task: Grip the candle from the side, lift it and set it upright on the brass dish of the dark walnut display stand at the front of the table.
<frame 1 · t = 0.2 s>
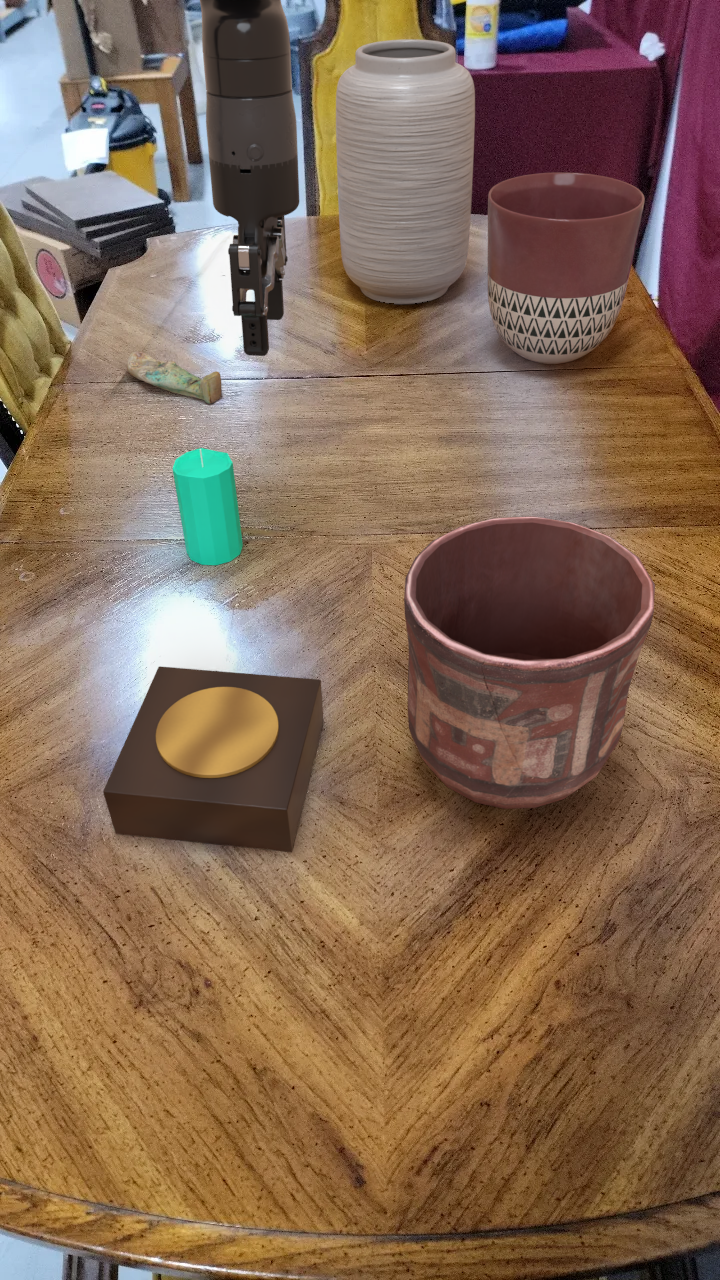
hand: (264, 335, 94), 22 cm above the table, tool pointing down, fingers open, 8 cm apart
candle: (215, 550, 106), on the table
stand: (225, 774, 81), on the table
pottery: (509, 756, 82), on the table
figurine: (175, 389, 134), on the table
planter: (548, 356, 139), on the table
vase: (404, 288, 159), on the table
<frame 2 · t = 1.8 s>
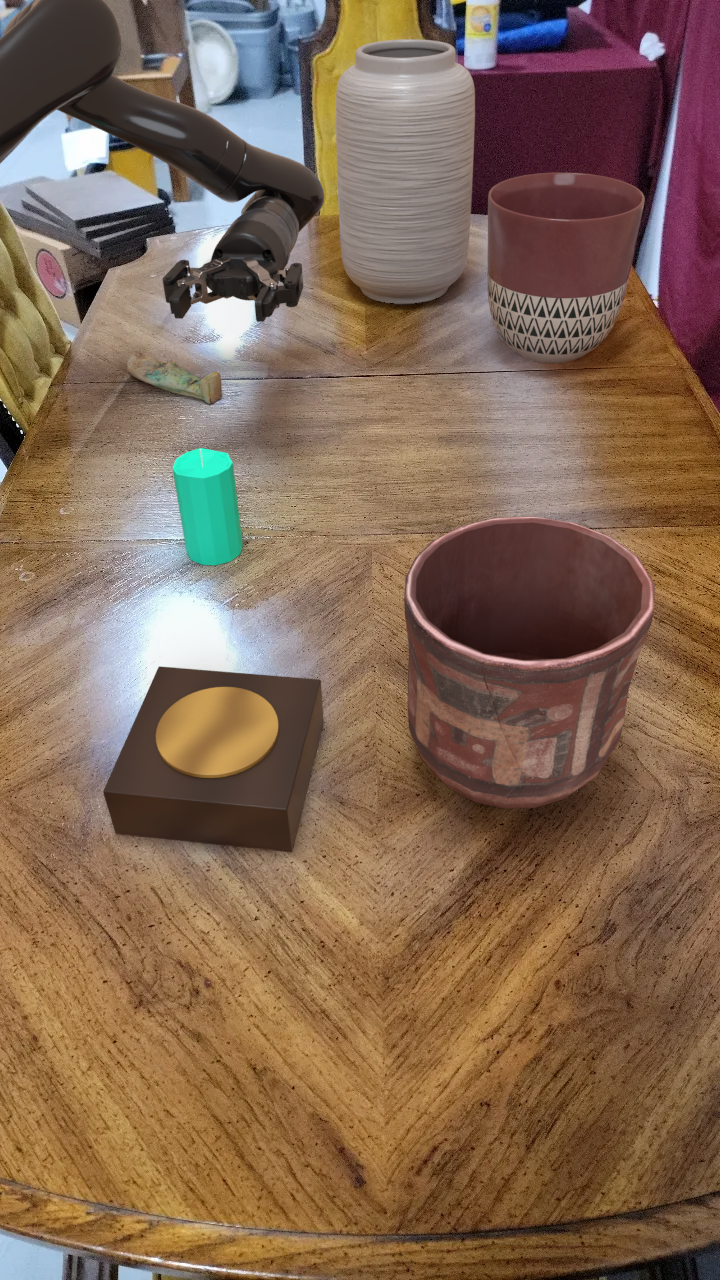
hand: (217, 311, 100), 21 cm above the table, tool horizontal, fingers open, 8 cm apart
nothing on the table moved.
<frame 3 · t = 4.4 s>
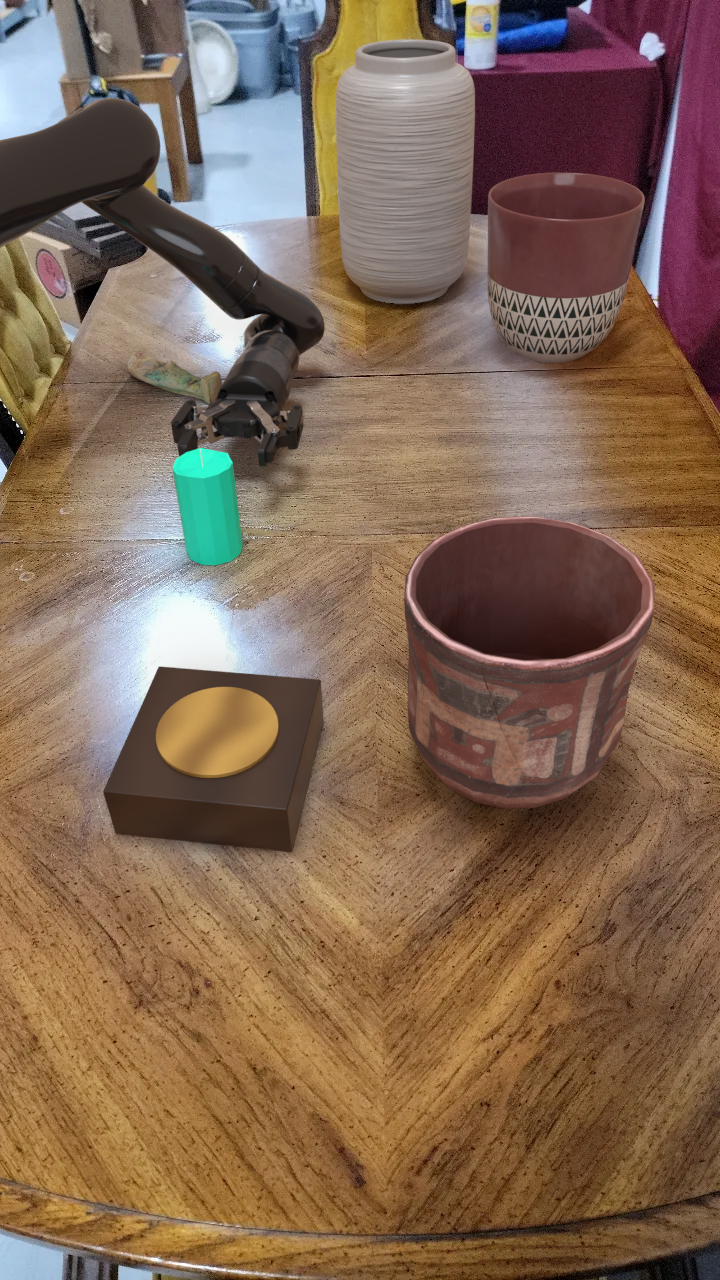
hand: (223, 457, 106), 7 cm above the table, tool horizontal, fingers open, 8 cm apart
nothing on the table moved.
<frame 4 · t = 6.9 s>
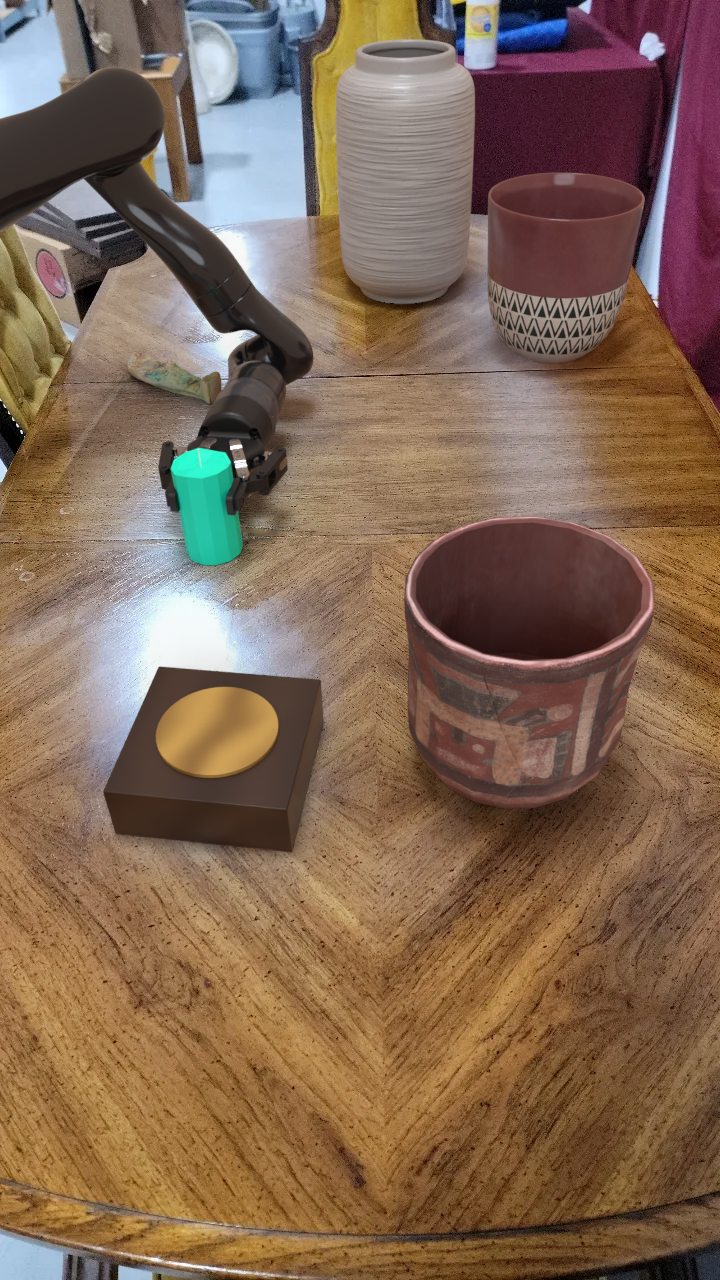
hand: (201, 505, 99), 7 cm above the table, tool horizontal, fingers closed on candle, 5 cm apart
candle: (215, 550, 106), on the table, touching gripper
everything else where it was.
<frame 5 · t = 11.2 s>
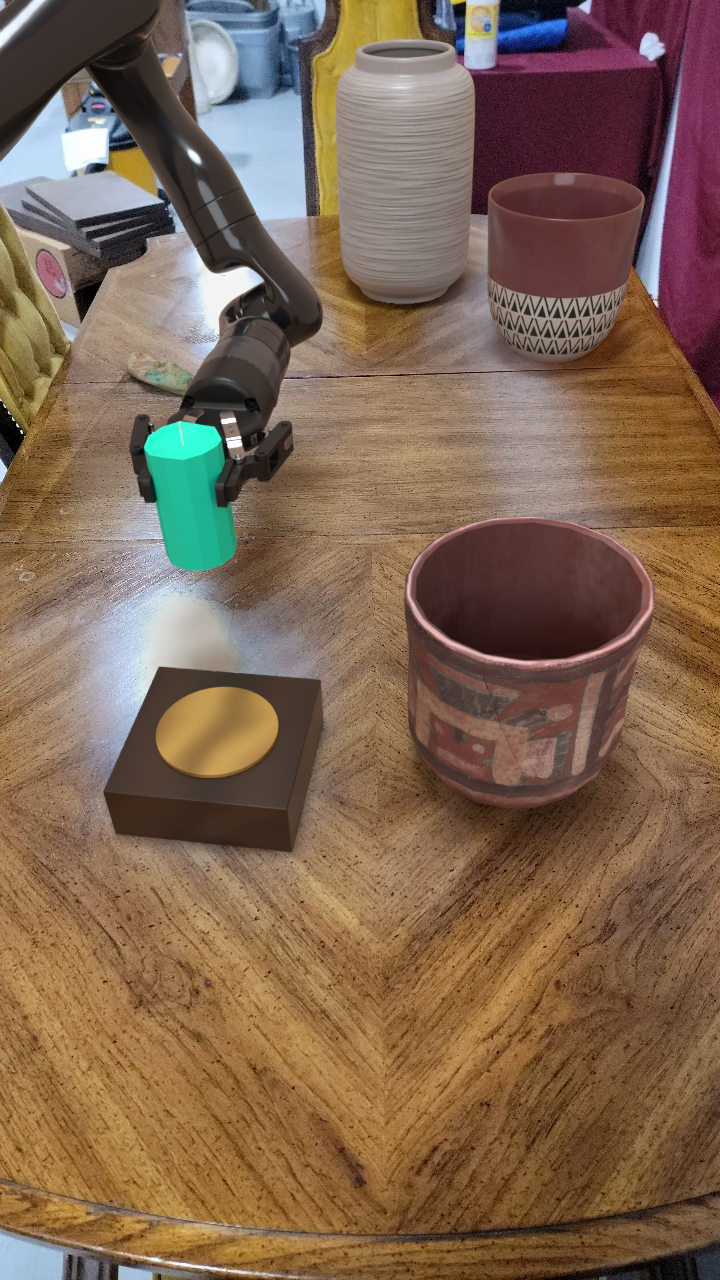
hand: (184, 495, 77), 20 cm above the table, tool horizontal, fingers closed on candle, 5 cm apart
candle: (202, 551, 84), point 12 cm above the table, touching gripper
everything else where it was.
when the fingers open (12 cm above the table, at t = 15.4 s): candle stays where it is, resting on stand.
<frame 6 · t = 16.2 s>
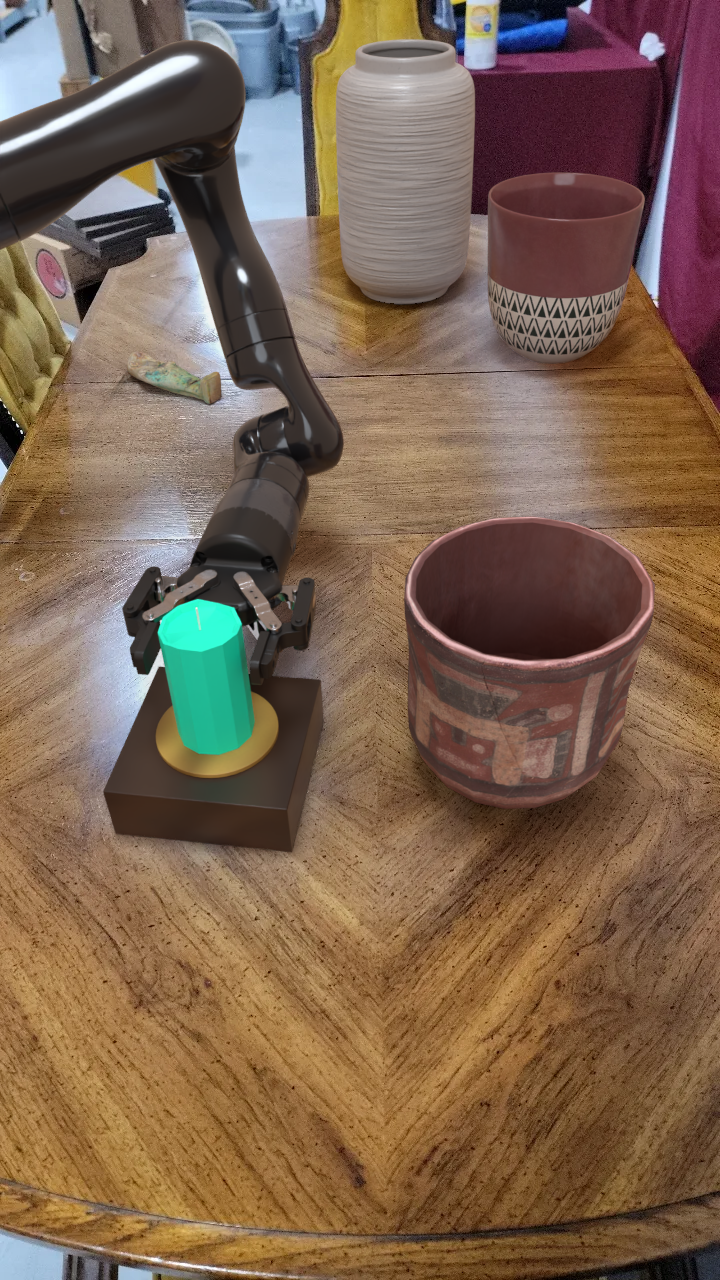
hand: (197, 671, 71), 13 cm above the table, tool horizontal, fingers open, 8 cm apart
candle: (217, 728, 78), point 5 cm above the table, touching stand
everything else where it was.
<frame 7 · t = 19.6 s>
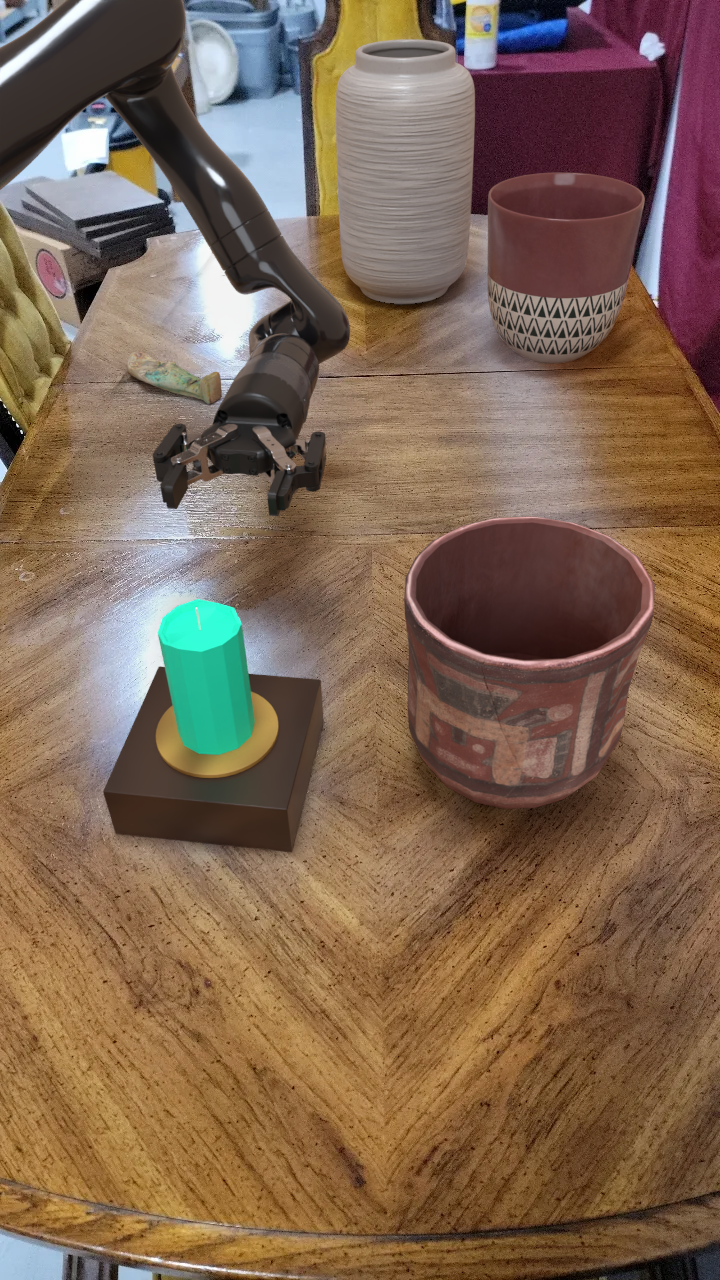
hand: (221, 503, 80), 18 cm above the table, tool horizontal, fingers open, 8 cm apart
nothing on the table moved.
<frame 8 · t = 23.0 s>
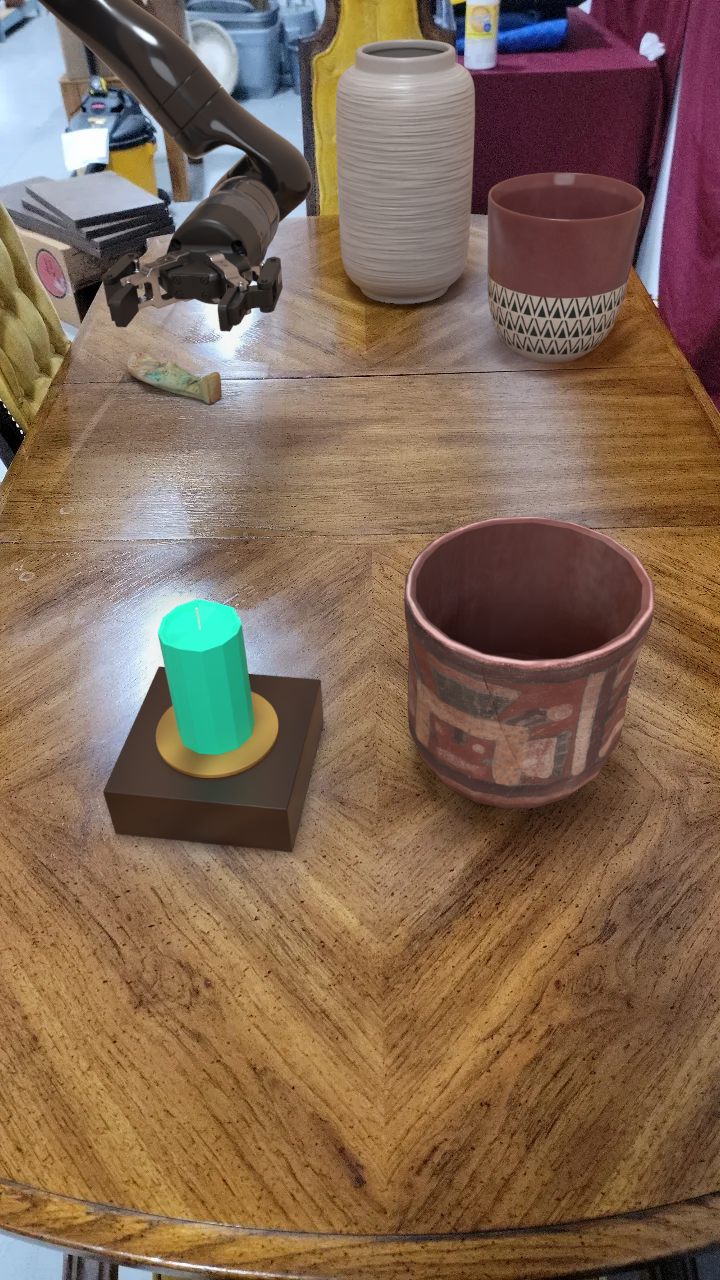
hand: (170, 317, 77), 30 cm above the table, tool horizontal, fingers open, 8 cm apart
nothing on the table moved.
at the end: candle inside the target area on the stand (0.1 cm from its centre), point 5.2 cm above the stand's base; candle tilted 0°; the gripper is holding nothing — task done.
